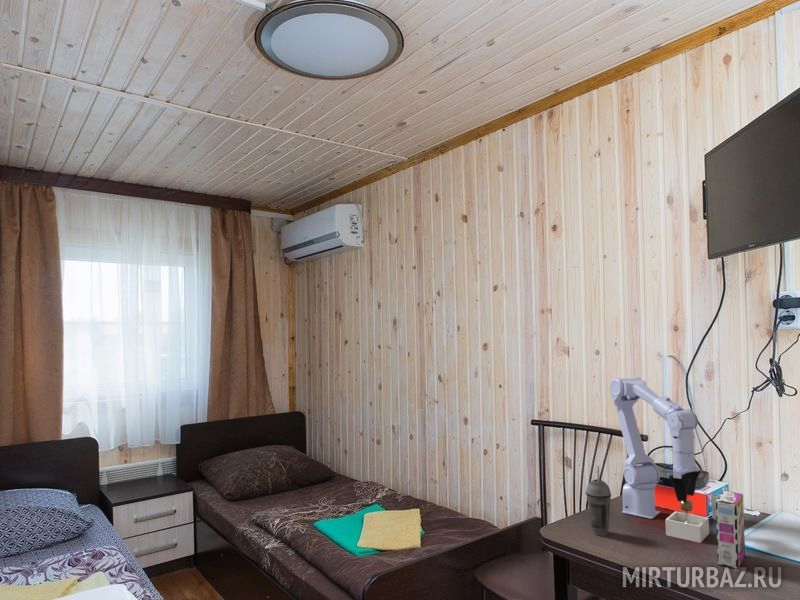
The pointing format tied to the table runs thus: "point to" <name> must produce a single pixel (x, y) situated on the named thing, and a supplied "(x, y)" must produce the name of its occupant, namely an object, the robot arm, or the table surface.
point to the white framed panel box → (687, 527)
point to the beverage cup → (598, 505)
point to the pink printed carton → (730, 529)
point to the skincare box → (714, 505)
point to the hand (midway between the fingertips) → (685, 498)
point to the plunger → (686, 510)
